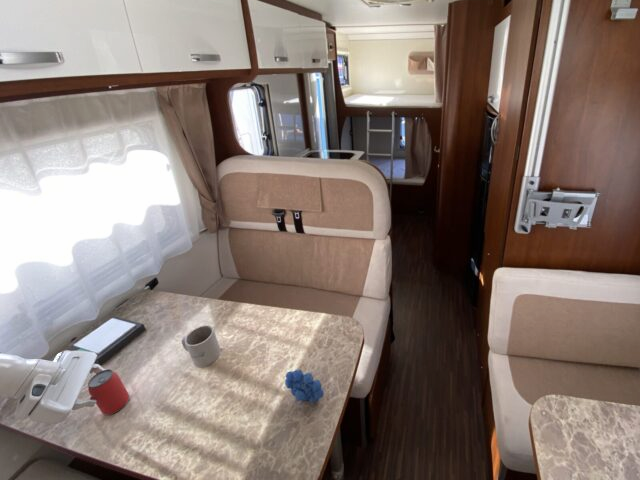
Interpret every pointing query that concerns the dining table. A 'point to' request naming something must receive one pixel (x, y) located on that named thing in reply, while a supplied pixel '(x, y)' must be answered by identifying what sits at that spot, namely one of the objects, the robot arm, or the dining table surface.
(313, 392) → the grapes
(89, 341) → the scale
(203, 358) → the mug
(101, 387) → the beer can
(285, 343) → the dining table surface
